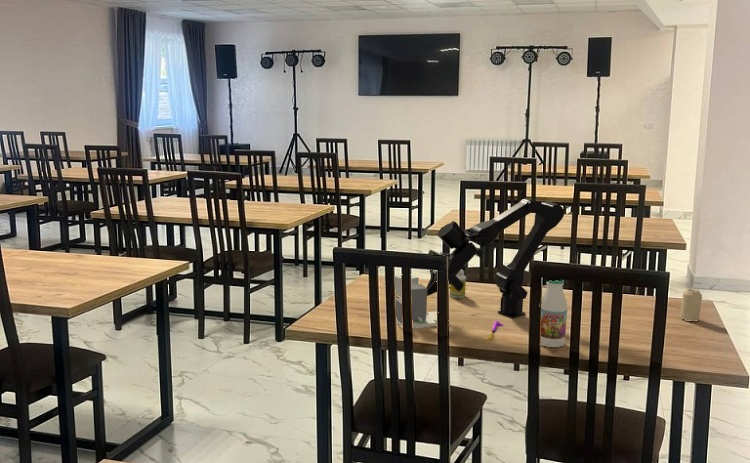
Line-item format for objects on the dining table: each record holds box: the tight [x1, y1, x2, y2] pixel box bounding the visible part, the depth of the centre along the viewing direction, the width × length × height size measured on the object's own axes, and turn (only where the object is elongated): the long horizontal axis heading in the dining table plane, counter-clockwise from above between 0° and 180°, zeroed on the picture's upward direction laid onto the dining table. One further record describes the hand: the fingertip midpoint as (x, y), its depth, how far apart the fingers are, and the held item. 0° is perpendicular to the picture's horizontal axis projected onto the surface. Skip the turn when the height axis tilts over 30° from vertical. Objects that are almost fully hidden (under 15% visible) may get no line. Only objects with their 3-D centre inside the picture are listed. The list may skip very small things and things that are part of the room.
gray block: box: [411, 283, 428, 321], centre depth 214 cm, size 5×9×10 cm, turn 18°
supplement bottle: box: [449, 270, 467, 299], centre depth 243 cm, size 5×5×10 cm
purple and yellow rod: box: [488, 320, 504, 342], centre depth 209 cm, size 3×1×16 cm
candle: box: [679, 288, 703, 321], centre depth 223 cm, size 6×6×10 cm
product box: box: [394, 274, 419, 297], centre depth 241 cm, size 6×6×7 cm
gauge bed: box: [394, 297, 450, 330], centre depth 215 cm, size 15×10×7 cm, turn 108°
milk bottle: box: [540, 279, 568, 348], centre depth 198 cm, size 8×8×20 cm
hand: (424, 295), depth 215 cm, fingers closed
